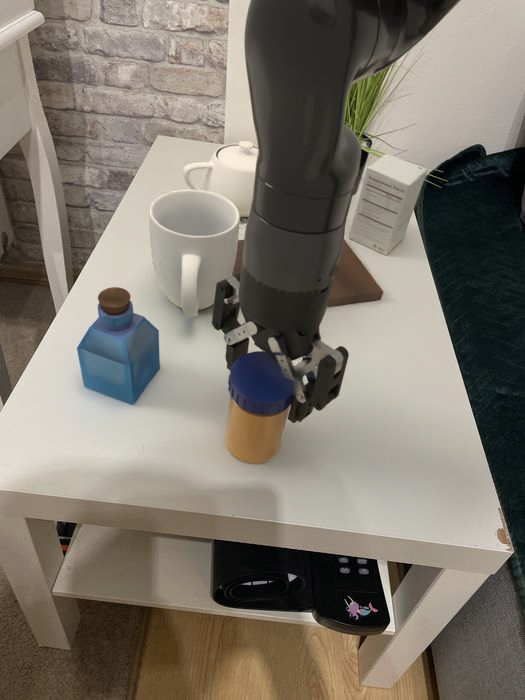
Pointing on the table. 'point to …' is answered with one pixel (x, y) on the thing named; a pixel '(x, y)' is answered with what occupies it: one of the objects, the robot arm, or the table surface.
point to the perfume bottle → (119, 349)
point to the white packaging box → (386, 203)
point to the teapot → (229, 174)
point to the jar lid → (259, 384)
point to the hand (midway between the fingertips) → (265, 391)
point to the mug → (193, 245)
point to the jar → (254, 434)
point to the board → (340, 278)
